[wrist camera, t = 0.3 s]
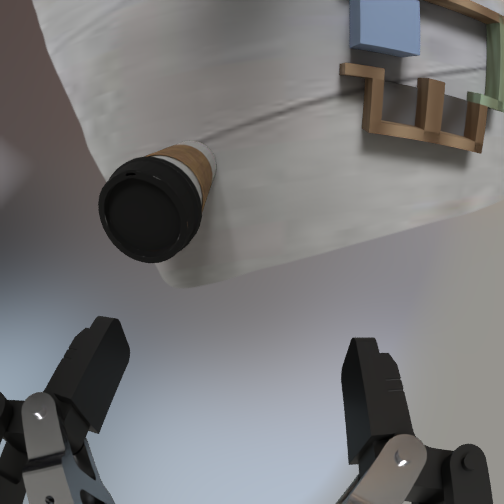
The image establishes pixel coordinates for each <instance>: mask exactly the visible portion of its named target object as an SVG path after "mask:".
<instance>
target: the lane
mask: <svg viewBox="0 0 504 504" xmlns="http://www.w3.org/2000/svg"><path fill="white" fill-rule="evenodd" d="M423 1H427V2H430V3H433V4H436V5H439V6H442V7H445V8H448V9H450V10H453V11H456V12H458V13H461V14H463V15H466V16H468V17H471V18H473V19H476V20H478V21H480V22H482V23H485V24H486V29H487V68H486V87H485V95H483V94H479V93H473V92H468V93H467V101H466V100H463V99H459V98H456V97H452V96H449V95H445V94H444V92H445V83H444V82H441V81H437V80H433V79H430V78H418V83H417V88H416V87H412V86H407V85H402V84H397V83H392V82H387V81H384V73H385V69H384V68H378V67H372V66H366V65H359V64H352V63H342V64H340V74H339V75H346V76H354V77H361V78H365V90H364V106H363V119H362V129H364V130H365V131H367V132H368V133H375V134H382V135H389V136H396V137H402V138H408V139H414V140H420V141H425V142H431V143H436V144H441V145H446V146H450V147H455V148H459V149H464V150H468V151H472V152H476V153H480V154H481V152H482V146H483V140H484V133H485V126H486V118H487V109H488V108H490V109H494V110H497V111H501V112H504V16H502V15H500V14H498V13H496V12H494V11H492V10H490V9H488V8H486V7H484V6H482V5H479V4H477V3H475V2H473V1H470V0H423Z"/></svg>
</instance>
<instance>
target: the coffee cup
mask: <svg viewBox="0 0 504 504" xmlns="http://www.w3.org/2000/svg"><path fill="white" fill-rule="evenodd" d="M215 172H216V160H215V157H214V155H213V153H212V151H211V150H210V149H209V148H208V147H207V146H205V145H204V144H202V143H200V142H197V141H184V142H181V143H178V144H176V145H173V146H171V147H168V148H165V149H163V150H160V151H157V152H155V153H152V154H149V155H147V156H145V157H140V158H135V159H133V160H130V161H128V162H126V163H125V164H123V165H122V166H120V167H119V168H118V169H117V170H116V171H115V172H114V173H113V174H112V176H111V177H110V179H109V181H107V183H106V184H105V185H104V187H103V188H102V191H101V193H100V196H99V204H98V205H99V215H100V219H101V223H102V225H103V228H104V230H105V232H106V234H107V236H108V237H109V239H110V240H111V241H112V243H113V244H114V245H115V246H116V247H117V248H118V249H119V250H120V251H121V252H123V253H124V254H125V255H127V256H129V257H131V258H132V259H135V260H138V261H141V262H145V263H159V262H162V261H166V260H168V259H170V258H171V257H173V256H174V255H175V254H176V253H178V252H179V251H181V250H182V249H183V248H185V247H186V246H187V245H188V244H189V242H190V241H191V240H192V238H193V237H194V236H195V234H196V233H197V231H198V228H199V226H200V222H201V218H202V211H203V208H204V205H205V202H206V199H207V196H208V193H209V190H210V187H211V183H212V181H213V178H214V176H215Z"/></svg>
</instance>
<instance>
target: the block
mask: <svg viewBox="0 0 504 504" xmlns="http://www.w3.org/2000/svg"><path fill="white" fill-rule="evenodd" d="M349 4H350V48H353V49H360V50H366V51H372V52H378V53H383V54H388V55H393V56H398V57H409V56H418V55H420V5H419V1H417V0H349Z"/></svg>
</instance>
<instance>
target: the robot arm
mask: <svg viewBox="0 0 504 504" xmlns="http://www.w3.org/2000/svg"><path fill="white" fill-rule="evenodd" d="M129 358H130V348H129V345H128V342H127V340H126V337H125V334H124V332H123V329H122V326H121V323H120V321H119V320H118V319H116V318H109V317H103V316H98V317H97V318H96V319H95V320H94V322H93V323H92V325H91V327H90V328H85V329H84V330H83V331H81V332H80V333H79V334H78V335H77V336H76V337H75V338H74V340H73V341H72V343H71V345H70V346H69V350H67V351H66V353H65V355H64V358H63V359H62V360H61V362H60V363H59V365H58V367H57V368H56V370H55V372H54V374H53V376H52V377H51V379H50V381H49V383H48V385H47V387H46V388H45V390H44V391H43V392H37V393H34V394H32V395H30V396H29V397H28V398H27V399H26V400H25V401H19V400H7V399H6V398H5V397H4V395H3V394H2V393H1V392H0V443H1V441H2V438H3V439H4V440H5V441H6V444H5V447H4V449H3V452H2V454H1V457H0V504H23V500H24V496H25V493H27V497H28V500H29V504H115V503H114V500H113V498H112V496H111V495H110V493H109V492H108V490H107V489H106V488H105V486H104V485H103V483H102V481H101V479H100V476H99V473H98V471H97V468H96V465H95V462H94V459H93V456H92V453H91V450H90V447H89V444H88V441H87V439H86V435H87V432H88V431H91V432H94V433H97V434H99V432H100V430H101V427H102V425H103V422H104V419H105V417H106V414H107V412H108V409H109V407H110V405H111V402H112V400H113V397H114V395H115V392H116V390H117V387H118V385H119V383H120V381H121V378H122V375H123V373H124V371H125V369H126V367H127V364H128V362H129ZM400 378H401V377H400V374H399V370H398V366H397V364H396V362H395V361H394V360H393V358H392V357H391V356H390V355H389V353H379V349H378V346H377V342H376V339H375V338H352V339H351V342H350V345H349V348H348V351H347V354H346V357H345V360H344V363H343V367H342V373H341V383H342V392H343V401H344V411H345V422H346V434H347V446H348V460H349V465H350V464H351V465H352V464H359V474H358V475H357V477H356V478H355V479H354V481H353V482H352V483H351V485H350V486H349V487H348V489H347V490H346V491H345V492H344V494H343V495H342V496H341V497H340V499H339V500H338V501H337V502H336V504H402V503H403V502H404V501H409V502H412V504H493V500H492V492H491V485H490V479H489V473H488V467H487V462H486V457H485V455H484V453H483V451H482V450H481V449H480V448H479V447H478V446H475V445H473V444H465V445H461V446H459V447H458V448H457V449H456V450H454V451H450V450H442V449H436V448H431V447H428V446H426V445H424V444H423V443H422V441H421V440H419V439H418V438H417V437H416V436H415V434H414V432H413V429H412V424H411V420H410V415H409V410H408V406H407V402H406V398H405V393H404V391H403V385H402V381H401V380H400Z"/></svg>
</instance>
